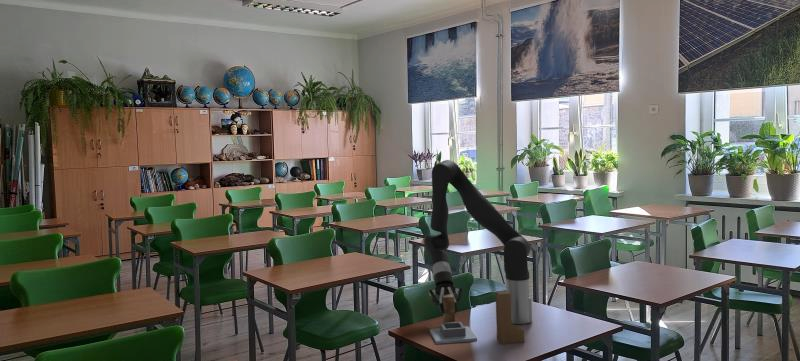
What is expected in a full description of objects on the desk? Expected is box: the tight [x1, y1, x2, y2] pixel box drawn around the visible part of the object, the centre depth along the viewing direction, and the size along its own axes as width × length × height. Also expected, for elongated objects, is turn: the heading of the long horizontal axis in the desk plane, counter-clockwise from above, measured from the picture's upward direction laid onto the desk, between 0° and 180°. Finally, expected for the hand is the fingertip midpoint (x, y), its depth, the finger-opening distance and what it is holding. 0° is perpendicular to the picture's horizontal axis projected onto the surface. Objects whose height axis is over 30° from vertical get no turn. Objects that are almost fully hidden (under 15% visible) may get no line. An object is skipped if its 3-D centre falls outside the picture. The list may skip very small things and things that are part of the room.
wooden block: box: [495, 290, 525, 345], centre depth 211 cm, size 9×4×18 cm, turn 97°
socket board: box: [429, 321, 478, 345], centre depth 220 cm, size 15×14×4 cm
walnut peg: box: [442, 294, 456, 323], centre depth 231 cm, size 4×4×12 cm
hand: (449, 312), depth 230 cm, fingers closed on walnut peg, 4 cm apart
